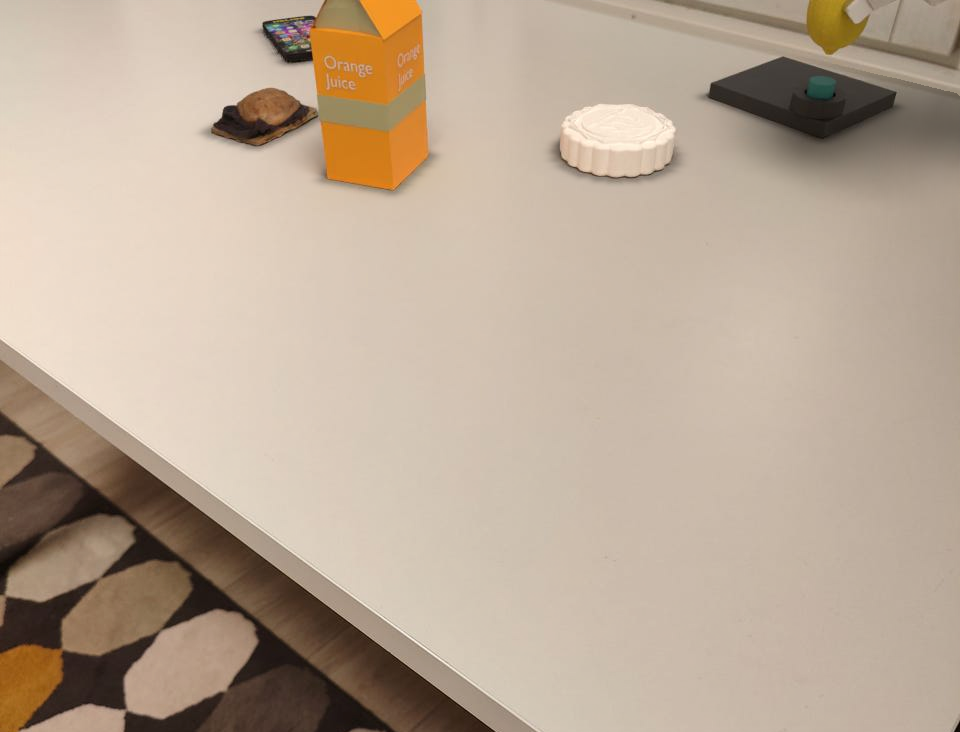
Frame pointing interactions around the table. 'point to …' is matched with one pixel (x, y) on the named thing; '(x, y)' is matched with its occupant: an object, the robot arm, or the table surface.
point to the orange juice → (370, 89)
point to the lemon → (831, 25)
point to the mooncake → (617, 140)
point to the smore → (262, 116)
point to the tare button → (821, 87)
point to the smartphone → (291, 36)
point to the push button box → (801, 96)
